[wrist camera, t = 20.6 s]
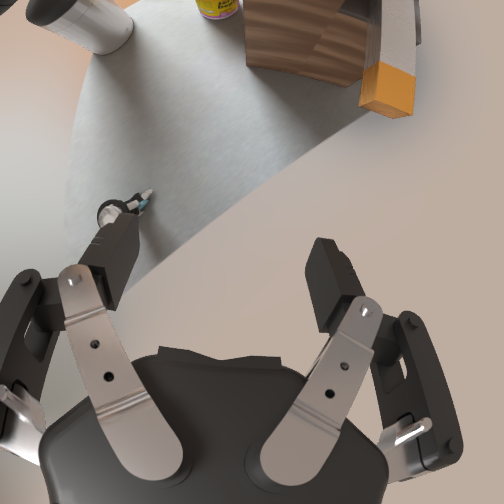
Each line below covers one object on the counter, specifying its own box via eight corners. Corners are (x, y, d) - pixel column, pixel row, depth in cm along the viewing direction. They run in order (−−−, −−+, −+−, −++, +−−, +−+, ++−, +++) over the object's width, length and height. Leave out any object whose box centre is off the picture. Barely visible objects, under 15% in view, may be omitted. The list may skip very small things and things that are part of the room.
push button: (142, 178, 40) (114, 185, 31) (163, 201, 41) (140, 215, 32) (118, 205, 41) (87, 219, 32) (137, 228, 43) (111, 247, 33)
